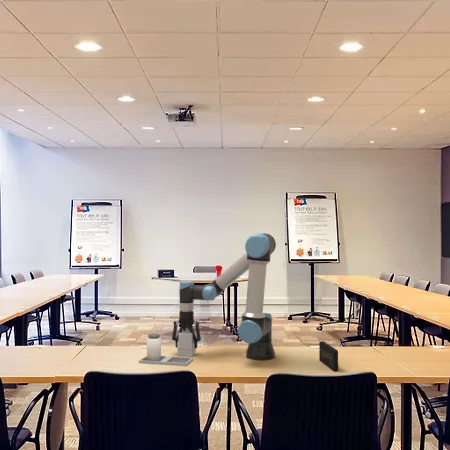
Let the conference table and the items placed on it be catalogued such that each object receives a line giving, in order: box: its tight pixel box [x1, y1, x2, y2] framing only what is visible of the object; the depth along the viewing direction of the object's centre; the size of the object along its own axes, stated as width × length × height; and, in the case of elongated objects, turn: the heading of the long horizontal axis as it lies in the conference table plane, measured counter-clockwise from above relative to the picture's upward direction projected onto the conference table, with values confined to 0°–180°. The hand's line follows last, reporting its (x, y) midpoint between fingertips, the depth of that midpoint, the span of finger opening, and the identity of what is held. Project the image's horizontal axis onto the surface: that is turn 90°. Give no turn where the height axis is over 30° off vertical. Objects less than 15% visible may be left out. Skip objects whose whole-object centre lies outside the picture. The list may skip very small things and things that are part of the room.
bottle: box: [146, 333, 162, 361], centre depth 254 cm, size 7×7×13 cm
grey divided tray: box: [138, 355, 194, 367], centre depth 252 cm, size 24×11×2 cm, turn 77°
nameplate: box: [318, 340, 339, 372], centre depth 249 cm, size 21×2×10 cm, turn 9°
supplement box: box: [177, 330, 194, 357], centre depth 267 cm, size 7×7×13 cm
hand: (186, 354), depth 267 cm, fingers closed on supplement box, 8 cm apart
